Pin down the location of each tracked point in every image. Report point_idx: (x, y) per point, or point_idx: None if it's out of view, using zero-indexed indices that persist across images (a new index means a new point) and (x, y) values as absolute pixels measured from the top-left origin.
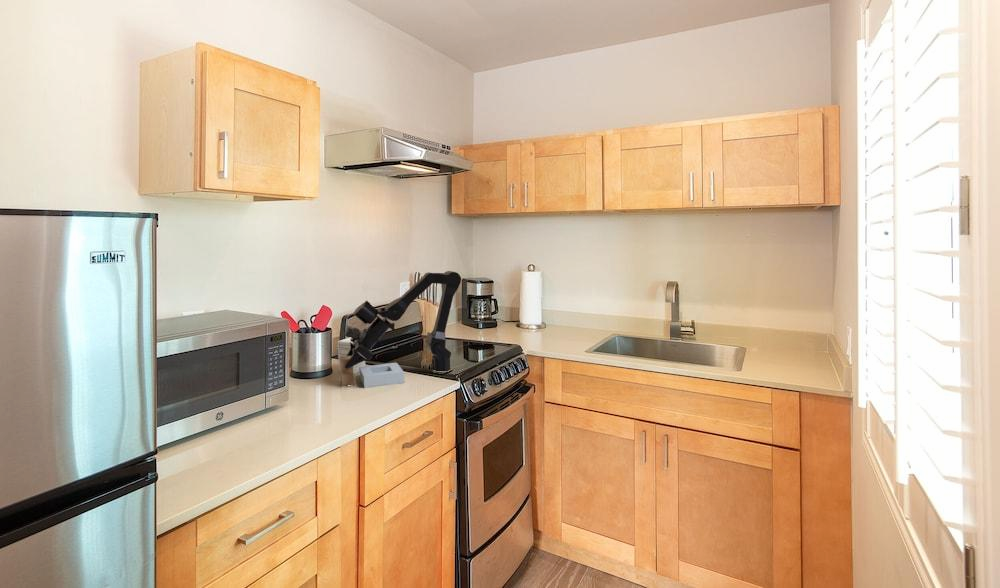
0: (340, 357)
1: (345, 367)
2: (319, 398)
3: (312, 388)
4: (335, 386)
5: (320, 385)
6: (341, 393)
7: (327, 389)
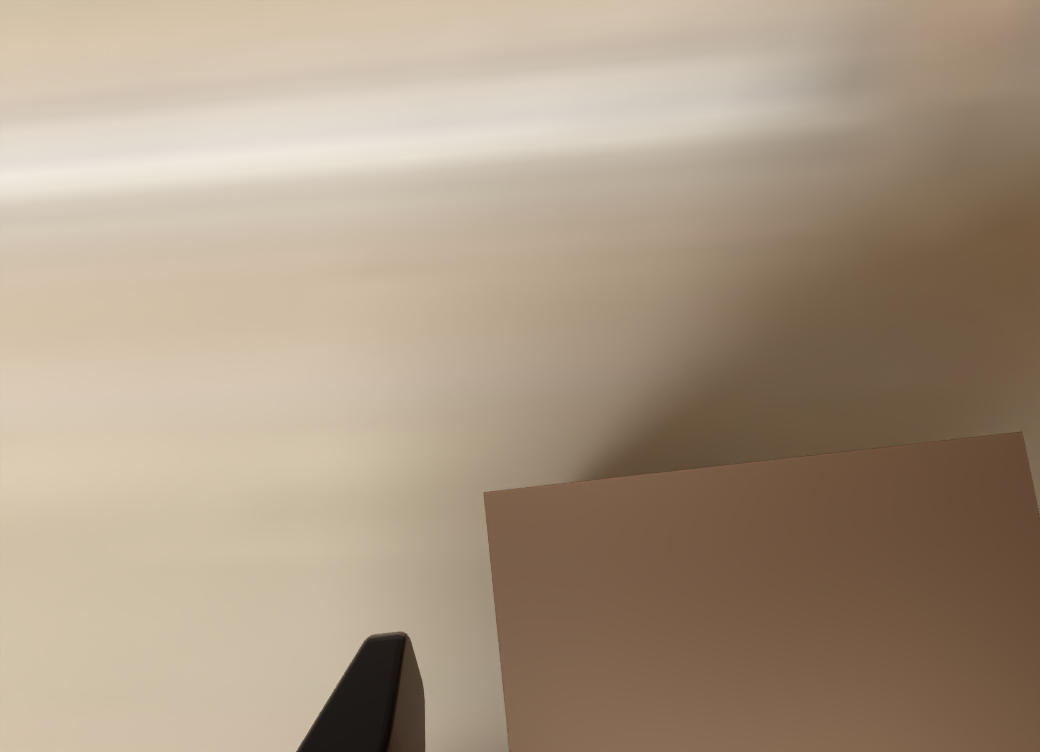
0: (861, 470)
1: (369, 652)
2: (40, 171)
3: (627, 11)
4: (613, 391)
5: (766, 123)
6: (151, 514)
7: (478, 261)
